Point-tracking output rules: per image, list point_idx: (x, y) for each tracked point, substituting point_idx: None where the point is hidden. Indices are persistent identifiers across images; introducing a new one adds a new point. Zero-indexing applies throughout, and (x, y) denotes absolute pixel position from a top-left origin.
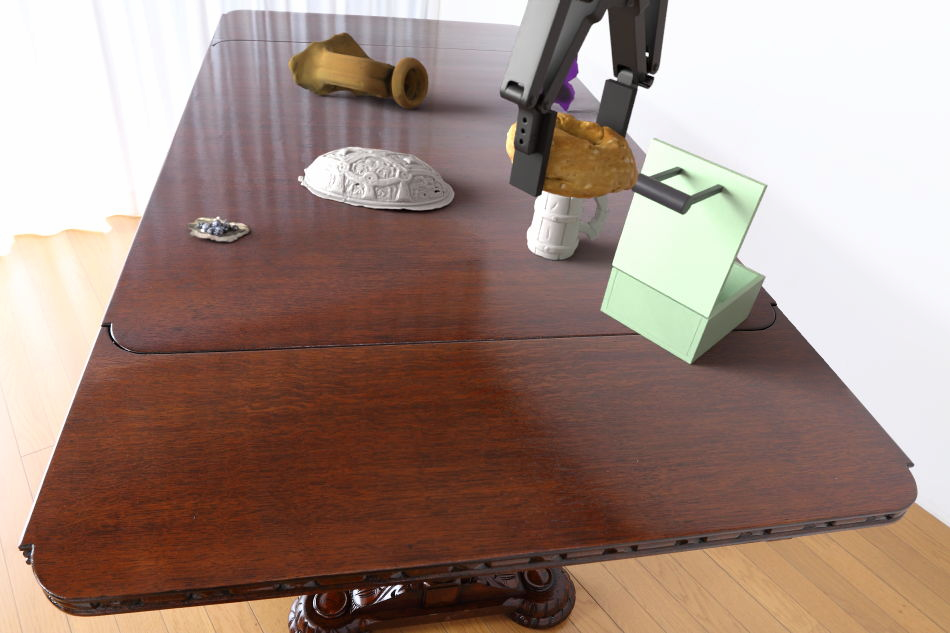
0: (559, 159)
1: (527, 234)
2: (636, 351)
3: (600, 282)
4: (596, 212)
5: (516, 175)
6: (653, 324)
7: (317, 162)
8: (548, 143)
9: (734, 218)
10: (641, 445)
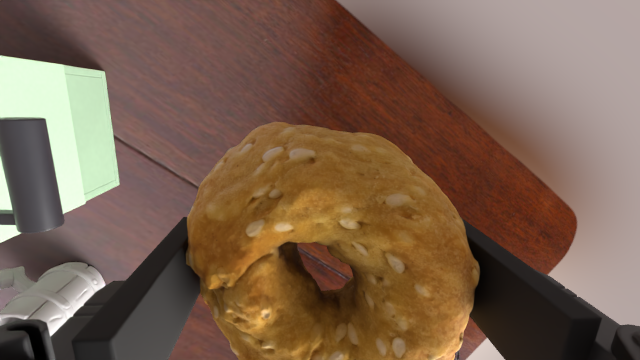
0: (464, 233)
1: None
2: (140, 122)
3: (77, 214)
4: None
5: None
6: (99, 126)
7: None
8: (519, 266)
9: None
10: (247, 47)
